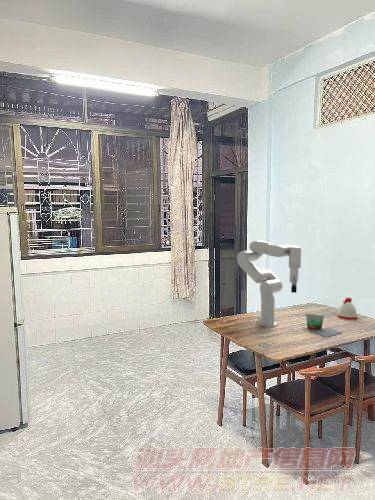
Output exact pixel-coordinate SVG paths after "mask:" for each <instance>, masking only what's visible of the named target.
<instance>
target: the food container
mask: <svg viewBox="0 0 375 500" xmlns="http://www.w3.org/2000/svg"><path fill="white" fill-rule="evenodd" d="M304 315H305V318H306V326H307V329H308V330H312V331H316V330H319V329H323V323H324V319H325V314H321V315H320V314H314V313H313V314H310V313H307V312H306V313H305V314H304Z"/></svg>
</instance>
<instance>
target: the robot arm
mask: <svg viewBox="0 0 375 500" xmlns="http://www.w3.org/2000/svg"><path fill="white" fill-rule="evenodd" d="M263 255H267V256H270V257H274V258H275V257H276V258H283V257H284V258H285V257H288V268H289V283H291V288H290V290H291V293H292V294H293V293H297V288H298V287H297V285H298V280H299V269H300V268H301V264H302V263H301V262H302V248H301V246H298V245H290V244H284V245H283V244H282V245H274V244H272V243H271V242H268V241H266V240H262V239H261V240H254V241H251V242H249V249H248V250H247V249H246V250H241V251H239V252H238V254H237V255H236V259H237V264H238V266H239V267H240V269H242V270H243V271H244V272H245V273H246V274H247V275H248V276H249V277H250V278H251V279H252V280H253V282H254V283H256V284H259V292H260V315H258V317H257V320H259V321H258V325H259V326H261V327H263V328H264V327H265V328H266V327H267V328H274V327H276V326H277V322H276V321H275V317H276V316H275V315H276V314H275V313H276V311H275V310H276V308H275V307H276V304H275V303H276V302H275V296H274V294H276V293H279V292H281V291H282V289H283V283H282V281H281V280H280V279H279V278H278V277H277V275H275V274H274V273H273V272H272V271H271V270H269V269H265V268H264V269H260V268H259V267H257V265H256V264H255V263H253V262H255V261H257V260H259V259H260V258H261V257H262V256H263Z"/></svg>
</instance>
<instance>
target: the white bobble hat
mask: <svg viewBox="0 0 375 500" xmlns="http://www.w3.org/2000/svg"><path fill="white" fill-rule="evenodd" d="M342 301H343V302H342V303H341V304H339V306H338V308H337V312H336V317H337V318H339V319H343V320H356V319H357V318H358V314H357V310H356V308H355V306H354V304H353V303H352V301H353V298H352V297H345V299H344V300H342Z"/></svg>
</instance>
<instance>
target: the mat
mask: <svg viewBox="0 0 375 500" xmlns="http://www.w3.org/2000/svg"><path fill="white" fill-rule="evenodd" d="M310 333H312V334H315V335H318V336H321V337H324V338H326V339H327V338H329V337H332V336H336V335H339V334H342V333H343V332H342V331H338V330H335V329H331V328H329V327H324V328H323V327H322V329H319V330H312V331H310Z"/></svg>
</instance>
